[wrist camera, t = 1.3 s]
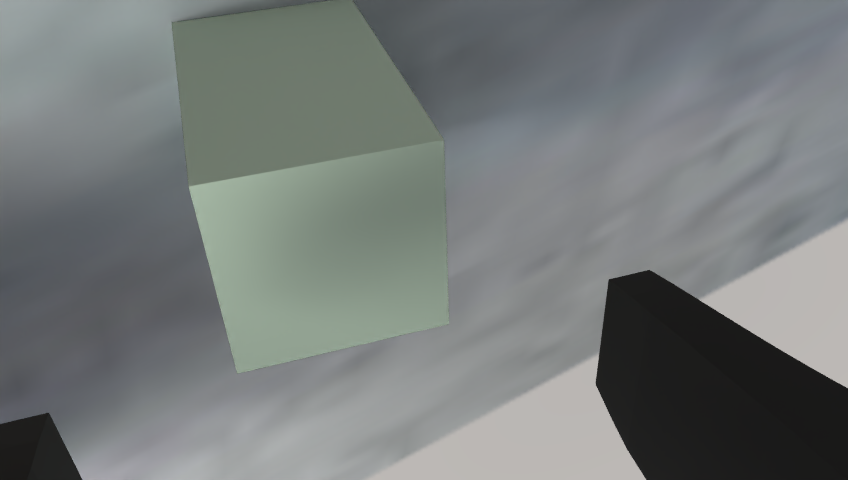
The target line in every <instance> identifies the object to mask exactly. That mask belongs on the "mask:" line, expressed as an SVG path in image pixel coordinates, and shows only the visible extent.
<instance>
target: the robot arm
mask: <svg viewBox="0 0 848 480" xmlns="http://www.w3.org/2000/svg"><path fill="white" fill-rule="evenodd" d="M596 386H597V388H598V390H599V392H600V394H601V397H602V399H603V401H604V403H605V405H606V407H607V409H608V412H609V414H610V416H611V418H612V420H613V422H614V424H615V426H616V428H617V430H618V432H619V434H620V436H621V438H622V440H623V442H624V444H625V446H626V448H627V450H628V451H629V453H630V454H631V456H632V458H633V459H634V461H635V462H636V464H637V466H638V467H639V469H640V470H641V472H642V473H643V475H644V477H645V478H646V480H848V388H846V387H844V386H842V385H841V384H839V383H837V382H835V381H833V380H831V379H830V378H828V377H826V376H825V375H823V374H821V373H819V372H817V371H816V370H814V369H812V368H810V367H808V366H807V365H805V364H803V363H802V362H800V361H798V360H796V359H795V358H793V357H791V356H790V355H788V354H786V353H784V352H783V351H781V350H779V349H778V348H776V347H775V346H773V345H771V344H769V343H768V342H766V341H764V340H763V339H761V338H760V337H758V336H756V335H755V334H753V333H751V332H750V331H748V330H746V329H745V328H743V327H741V326H740V325H738V324H737V323H735V322H734V321H732V320H730V319H729V318H727V317H725V316H724V315H722V314H721V313H719V312H717V311H716V310H714V309H712V308H711V307H709V306H708V305H706V304H704V303H703V302H701V301H700V300H698V299H697V298H695V297H693V296H692V295H690V294H689V293H687V292H685V291H684V290H682V289H680V288H679V287H677V286H676V285H674V284H672V283H671V282H669V281H667V280H666V279H664V278H662V277H661V276H659V275H657V274H655V273H654V272H652V271H650V270H647V271H643V272H639V273H634V274H630V275H626V276H622V277H618V278H613V279H609V281H608V289H607V297H606V305H605V313H604V321H603V329H602V337H601V345H600V353H599V361H598V369H597V377H596ZM0 480H82V478H81V476H80V474H79V472H78V470H77V468H76V466H75V464H74V462H73V460H72V458H71V456H70V454H69V452H68V450H67V448H66V446H65V444H64V442H63V440H62V438H61V436H60V434H59V432H58V430H57V428H56V426H55V424H54V422H53V420H52V418H51V416H50V414H49V413H45V414H41V415H37V416H33V417H29V418H24V419H20V420H16V421H12V422H8V423H3V424H0Z"/></svg>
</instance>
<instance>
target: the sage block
mask: <svg viewBox="0 0 848 480" xmlns="http://www.w3.org/2000/svg"><path fill="white" fill-rule="evenodd" d="M172 31H173V41H174V50H175V60H176V70H177V79H178V89H179V99H180V108H181V118H182V128H183V137H184V147H185V157H186V166H187V176H188V186H189V190H190V194H191V198H192V202H193V205H194V209H195V213H196V217H197V221H198V225H199V229H200V232H201V236H202V240H203V244H204V248H205V252H206V255H207V259H208V263H209V267H210V271H211V275H212V279H213V282H214V286H215V290H216V294H217V298H218V302H219V306H220V309H221V313H222V317H223V321H224V325H225V329H226V332H227V336H228V340H229V344H230V348H231V352H232V356H233V359H234V363H235V367H236V371H237V374H239V373H243V372H247V371H252V370H256V369H260V368H264V367H269V366H273V365H277V364H281V363H286V362H290V361H294V360H298V359H303V358H307V357H311V356H315V355H320V354H324V353H328V352H332V351H337V350H341V349H345V348H350V347H354V346H358V345H362V344H367V343H371V342H375V341H379V340H384V339H388V338H392V337H396V336H401V335H405V334H409V333H413V332H418V331H422V330H426V329H430V328H435V327H439V326H443V325H448V324H449V308H448V270H447V232H446V194H445V157H444V139H443V137H442V136H441V134H440V133H439V131H438V130H437V128H436V127H435V125H434V124H433V122H432V121H431V119H430V118H429V116H428V115H427V113H426V112H425V110H424V108H423V107H422V105H421V104H420V102H419V101H418V99H417V98H416V96H415V95H414V93H413V92H412V90H411V89H410V87H409V86H408V84H407V83H406V81H405V80H404V78H403V77H402V75H401V73H400V72H399V70H398V69H397V67H396V66H395V64H394V63H393V61H392V60H391V58H390V57H389V55H388V54H387V52H386V51H385V49H384V48H383V46H382V45H381V43H380V42H379V40H378V38H377V37H376V35H375V34H374V32H373V31H372V29H371V28H370V26H369V25H368V23H367V22H366V20H365V19H364V17H363V16H362V14H361V13H360V11H359V10H358V8H357V7H356V5H355V3H354V2H353V0H329V1H322V2H315V3H308V4H301V5H294V6H286V7H279V8H272V9H265V10H258V11H251V12H244V13H236V14H229V15H222V16H215V17H208V18H201V19H193V20H186V21H179V22H172Z"/></svg>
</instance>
